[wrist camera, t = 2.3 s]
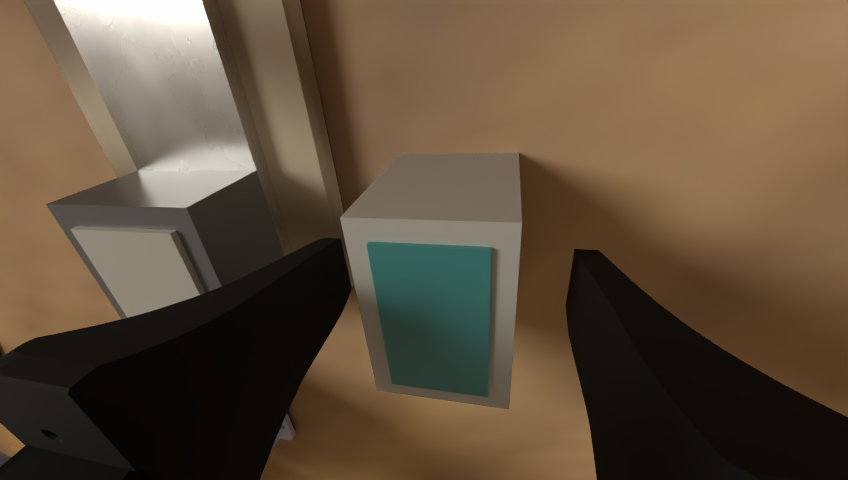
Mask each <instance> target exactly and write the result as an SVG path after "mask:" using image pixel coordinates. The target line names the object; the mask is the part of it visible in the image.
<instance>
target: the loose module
mask: <svg viewBox="0 0 848 480" xmlns="http://www.w3.org/2000/svg"><path fill="white" fill-rule="evenodd" d="M340 220H341V225H342V230H343V234H344V239H345V243H346V248H347V253H348V257H349V262H350V267H351V271H352V276H353V280H354V285H355V290H356V294H357V299H358V304H359V308H360V313H361V317H362V322H363V327H364V331H365V336H366V341H367V345H368V350H369V354H370V359H371V364H372V368H373V373H374V378H375V382H376V387H377V390H379V391H386V392H393V393H400V394H407V395H414V396H420V397H427V398H434V399H441V400H448V401H455V402H462V403H469V404H476V405H483V406H490V407H497V408H504V409H509V404H510V389H511V375H512V361H513V346H514V332H515V318H516V303H517V289H518V275H519V260H520V246H521V232H522V210H521V189H520V169H519V153H449V154H399V155H398V156H397V157H396V158H395V159H394V160H393V161H392V162H391V163H390V164H389V165H388V166H387V168H386V169H385V170H384V171H383V172H382V173H381V174H380V175H379V176H378V177H377V178H376V179H375V180H374V181H373V183H372V184H371V185H370V186H369V187H368V188H367V189H366V190H365V191H364V192H363V193H362V194H361V195H360V196H359V198H358V199H357V200H356V201H355V202H354V203H353V204H352V205H351V206H350V207H349V208H348V209H347V210H346V211H345V213H344V214H343V215H342V216H341V217H340Z"/></svg>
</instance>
